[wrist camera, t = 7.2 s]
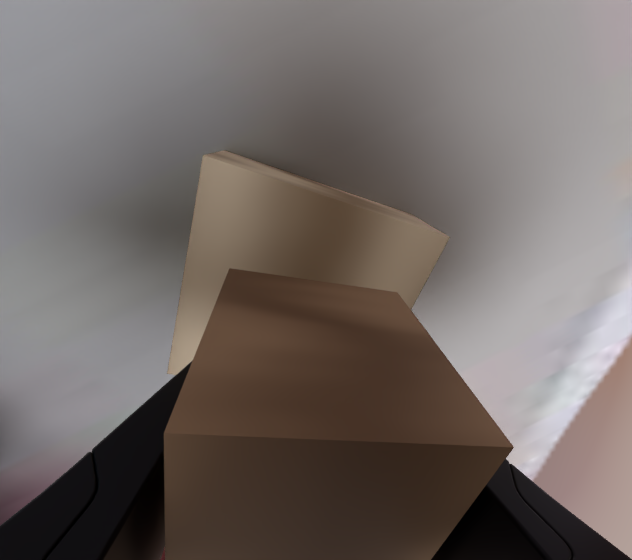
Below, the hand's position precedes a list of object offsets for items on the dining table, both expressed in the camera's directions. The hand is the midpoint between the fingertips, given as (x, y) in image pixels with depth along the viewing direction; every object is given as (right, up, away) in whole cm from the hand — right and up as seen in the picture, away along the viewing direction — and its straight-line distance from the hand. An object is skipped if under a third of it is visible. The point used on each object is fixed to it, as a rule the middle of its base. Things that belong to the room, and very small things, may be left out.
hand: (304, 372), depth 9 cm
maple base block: (-1, +3, +7) cm, 8 cm away
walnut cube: (0, 0, +1) cm, 1 cm away
